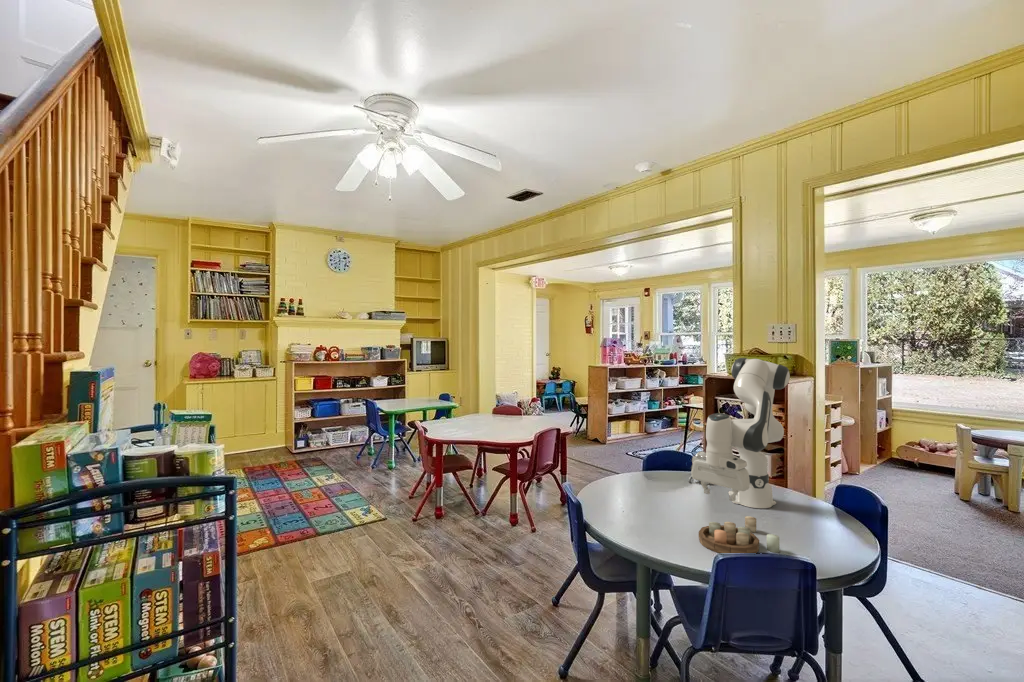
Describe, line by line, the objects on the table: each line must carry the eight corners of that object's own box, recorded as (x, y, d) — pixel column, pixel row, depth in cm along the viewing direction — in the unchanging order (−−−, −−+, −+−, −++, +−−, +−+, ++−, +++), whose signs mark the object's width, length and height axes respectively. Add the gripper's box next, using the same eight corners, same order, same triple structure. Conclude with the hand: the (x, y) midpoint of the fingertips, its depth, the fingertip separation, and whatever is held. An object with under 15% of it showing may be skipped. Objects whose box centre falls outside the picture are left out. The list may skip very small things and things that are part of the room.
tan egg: (743, 528, 185) (743, 516, 185) (753, 529, 184) (753, 516, 184) (747, 532, 181) (747, 520, 181) (758, 533, 180) (758, 520, 180)
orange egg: (712, 545, 168) (712, 531, 168) (717, 542, 170) (717, 528, 170) (723, 549, 165) (723, 535, 165) (728, 545, 167) (728, 532, 167)
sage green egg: (764, 547, 168) (764, 533, 168) (776, 548, 167) (776, 534, 167) (769, 552, 164) (769, 538, 164) (781, 553, 163) (781, 539, 163)
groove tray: (692, 531, 182) (692, 517, 182) (745, 533, 180) (745, 519, 180) (708, 555, 162) (708, 539, 162) (768, 557, 160) (768, 541, 160)
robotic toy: (718, 479, 250) (718, 451, 250) (706, 487, 237) (706, 457, 238) (695, 474, 259) (694, 448, 259) (682, 481, 246) (681, 453, 246)
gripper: (688, 454, 174) (688, 491, 174) (743, 466, 158) (743, 506, 158) (696, 452, 178) (697, 488, 178) (751, 463, 162) (751, 502, 162)
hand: (719, 497), depth 168 cm, fingers open, 8 cm apart
